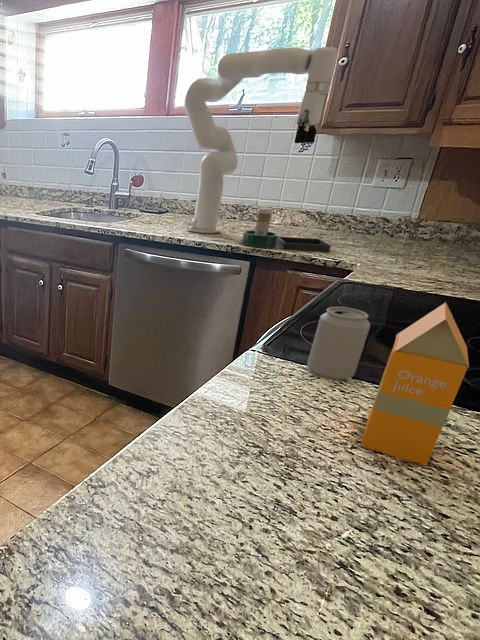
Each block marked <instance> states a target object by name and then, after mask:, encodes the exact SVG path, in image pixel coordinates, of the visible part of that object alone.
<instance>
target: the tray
mask: <svg viewBox="0 0 480 640" xmlns="http://www.w3.org/2000/svg"><path fill="white" fill-rule="evenodd" d="M276 246H278V247H280V249H282V250H283V251H297V252H316V253H330V250H331V246H332V245H331V244H330V243H328V242H326V241H324V240H323V239H321V238H309V237H308V238H307V237H290V236H289V237H288V236H278V238H277V242H276Z"/></svg>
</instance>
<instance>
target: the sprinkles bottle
mask: <svg viewBox="0 0 480 640" xmlns="http://www.w3.org/2000/svg"><path fill="white" fill-rule="evenodd" d="M257 214H258V215H257V220H256V224H255V229H254V230H255V233H254V235H259V236H267V233H268V232H269V226H270V221H271V217H272V214H273V207H267V206H266V207H265V206H264V207H263V206H262V207H259V208H258V213H257Z"/></svg>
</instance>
